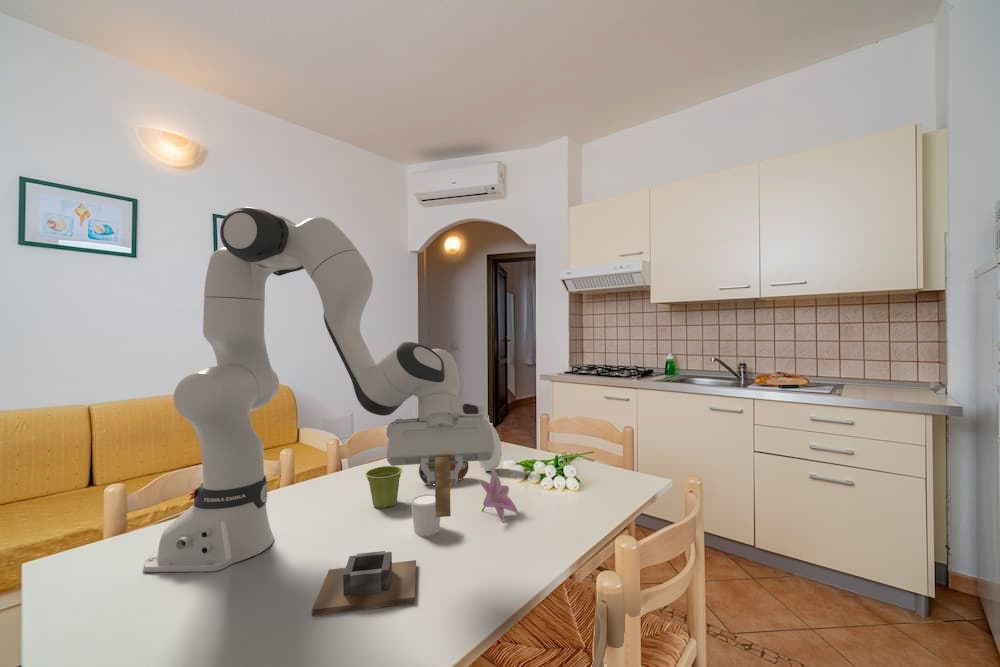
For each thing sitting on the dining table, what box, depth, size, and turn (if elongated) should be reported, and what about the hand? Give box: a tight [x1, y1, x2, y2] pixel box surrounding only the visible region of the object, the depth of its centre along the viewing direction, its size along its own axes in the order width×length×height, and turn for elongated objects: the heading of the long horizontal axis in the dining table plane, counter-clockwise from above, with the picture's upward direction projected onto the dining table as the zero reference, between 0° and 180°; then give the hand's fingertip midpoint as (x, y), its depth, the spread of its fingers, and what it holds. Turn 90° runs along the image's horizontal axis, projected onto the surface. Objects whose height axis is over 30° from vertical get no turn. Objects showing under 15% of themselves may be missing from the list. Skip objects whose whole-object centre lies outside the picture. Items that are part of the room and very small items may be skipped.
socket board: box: [311, 550, 417, 617], centre depth 76 cm, size 16×12×4 cm
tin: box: [418, 461, 469, 486], centre depth 131 cm, size 15×3×8 cm, turn 114°
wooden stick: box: [434, 456, 451, 518], centre depth 79 cm, size 3×3×10 cm
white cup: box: [410, 493, 441, 537], centre depth 99 cm, size 7×7×7 cm
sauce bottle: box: [478, 415, 503, 472], centre depth 140 cm, size 8×8×18 cm
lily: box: [478, 469, 519, 522], centre depth 107 cm, size 12×12×10 cm
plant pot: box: [365, 465, 403, 509], centre depth 114 cm, size 9×9×9 cm
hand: (442, 482), depth 78 cm, fingers closed on wooden stick, 3 cm apart
